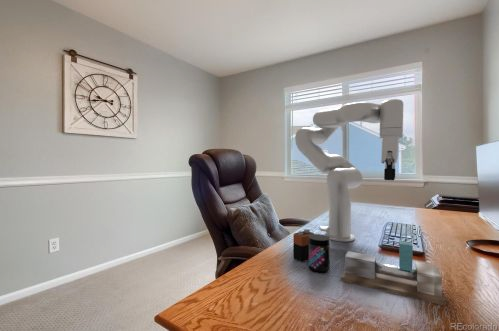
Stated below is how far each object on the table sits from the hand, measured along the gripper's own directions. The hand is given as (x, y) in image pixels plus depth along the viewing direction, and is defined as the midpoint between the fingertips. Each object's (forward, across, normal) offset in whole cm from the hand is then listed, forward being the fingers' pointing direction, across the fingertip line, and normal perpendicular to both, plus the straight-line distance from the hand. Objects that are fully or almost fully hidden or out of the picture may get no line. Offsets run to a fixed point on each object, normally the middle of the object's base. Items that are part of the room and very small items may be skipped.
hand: (389, 179), depth 92 cm
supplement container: (+28, +28, -18) cm, 44 cm away
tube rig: (+28, +26, +1) cm, 38 cm away
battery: (+28, +22, -25) cm, 44 cm away
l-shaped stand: (+26, +26, +3) cm, 37 cm away
